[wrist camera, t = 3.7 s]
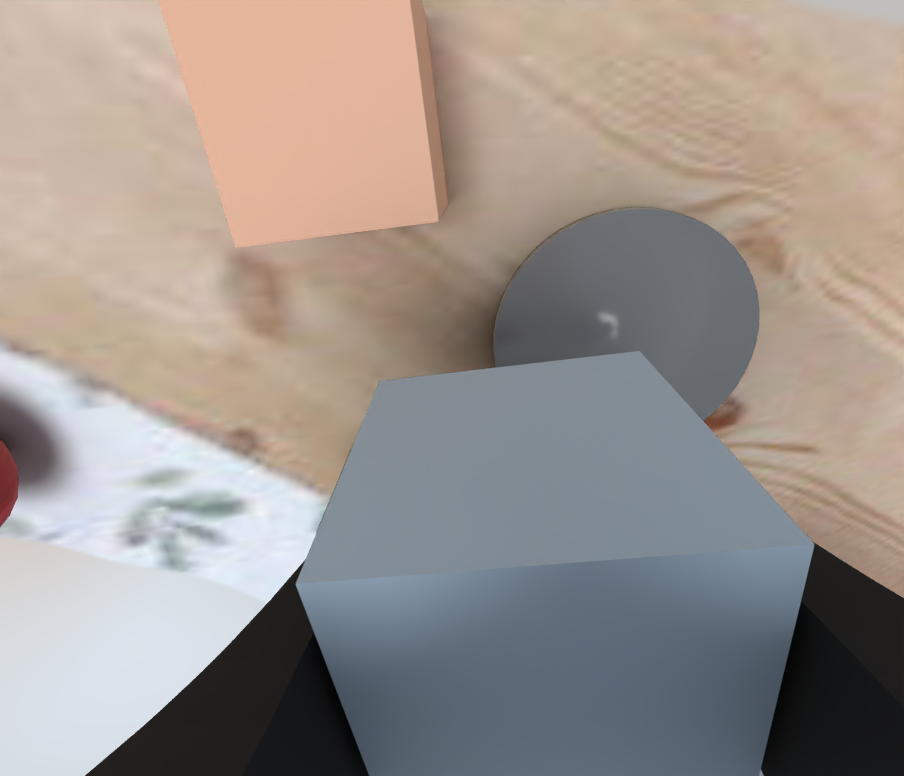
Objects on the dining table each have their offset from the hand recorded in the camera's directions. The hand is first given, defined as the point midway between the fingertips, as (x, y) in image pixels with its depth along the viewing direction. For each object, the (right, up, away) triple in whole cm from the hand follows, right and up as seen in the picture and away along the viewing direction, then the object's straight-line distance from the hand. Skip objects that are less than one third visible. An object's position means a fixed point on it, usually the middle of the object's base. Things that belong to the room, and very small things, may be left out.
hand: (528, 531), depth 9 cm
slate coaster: (+5, +4, +9) cm, 11 cm away
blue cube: (0, +1, +1) cm, 2 cm away
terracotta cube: (-4, +11, +6) cm, 13 cm away
